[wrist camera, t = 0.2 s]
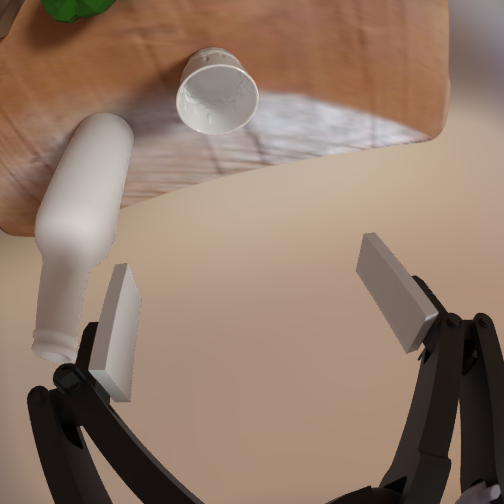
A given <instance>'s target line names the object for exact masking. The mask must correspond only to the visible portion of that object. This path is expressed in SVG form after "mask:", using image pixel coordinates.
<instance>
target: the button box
mask: <svg viewBox="0 0 504 504" xmlns="http://www.w3.org/2000/svg"><path fill="white" fill-rule="evenodd" d="M24 1H25V0H0V38H2V37H4V36H6V35H8V32H9V30H10V28H11V26H12V24H13V22H14V20H15V18H16V16H17V14H18V12H19V10H20V8H21V6H22V4H23V3H24Z"/></svg>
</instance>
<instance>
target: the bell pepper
mask: <svg viewBox="0 0 504 504" xmlns="http://www.w3.org/2000/svg"><path fill="white" fill-rule="evenodd" d="M40 1H41V3H42V4H43V6H44V8H45V10H46V12H47V13H48V14H49V15H50V16H51V17H52V18H53V19H54V20H55V21H56V22H64V23H72V22H74V21H76V20H78V19H79V18H80V17H83V18H86V19H87V18H89V17H92V16H95V15H97V14H100V13H103V12H105V11H106V10H107V9H108V8H109V7H110V6H111V5H112V4H113V3H114V2H115V1H116V0H40Z"/></svg>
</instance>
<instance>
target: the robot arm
mask: <svg viewBox="0 0 504 504" xmlns="http://www.w3.org/2000/svg"><path fill="white" fill-rule="evenodd" d="M356 272H357V274H358V275H359V276H360V278H361V280H362V281H363V283H364V284H365V286H366V288H367V289H368V291H369V292H370V294H371V295H372V297H373V299H374V300H375V302H376V303H377V305H378V306H379V308H380V310H381V311H382V313H383V315H384V316H385V318H386V320H387V321H388V323H389V324H390V326H391V328H392V330H393V331H394V333H395V335H396V337H397V338H398V340H399V342H400V344H401V345H402V347H403V349H404V350H405V352H406V354H407V353H409V352H412V351H415V350H418V349H419V347H420V345H421V343H422V342H423V344H424V345H425V348H424V350H423V351H422V353H421V354H420V356H419V358H418V360H420V359H421V357H422V360H421V365H420V370H419V375H418V379H417V383H416V387H415V391H414V395H413V399H412V403H411V407H410V410H409V414H408V417H407V421H406V424H405V427H404V430H403V434H402V437H401V440H400V443H399V446H398V449H397V451H396V455H395V457H394V460H393V462H392V465H391V467H390V468H389V470H388V471H387V473H386V474H385V475H384V477H383V479H382V481H381V483H380V485H379V487H378V488H371V486H367V487H365V488H362V489H360V490H357V491H354V492H351V493H348V494H345V495H343V496H341V497H338V498H336V499H333V500H332V501H329V502H328V503H326V504H440V501H441V498H442V495H443V492H444V489H445V486H446V483H447V480H448V476H449V473H450V469H451V460H450V459H449V458H448V451H449V447H450V443H451V438H452V433H453V429H454V424H455V419H456V413H457V406H458V400H459V403H460V419H461V468H460V483H461V493H462V495H461V496H460V498H459V499H458V500H457V501H456V503H455V504H504V360H503V356H502V352H501V348H500V344H499V341H498V337H497V334H496V330H495V327H494V324H493V321H492V319H491V318H490V317H489V316H488V315H486V314H484V313H477V314H476V315H475V317H474V318H473V320H462V319H461V318H460V317H459V316H458V315H456V314H454V313H448V312H447V311H446V310H445V308H444V307H443V305H442V304H441V303H440V301H439V300H438V299H437V298H436V296H435V295H434V294H433V293H432V291H431V290H430V289H429V288H428V286H427V285H426V284H425V282H424V281H423V280H422V279H420V278H419V277H417V276H411V275H410V274H409V273H408V272H407V270H406V269H405V268H404V267H403V266H402V264H401V263H400V262H399V261H398V260H397V258H396V257H395V256H394V254H393V253H392V252H391V251H390V250H389V249H388V247H387V246H386V245H385V244H384V243H383V242H382V241H381V239H380V238H379V237H378V236H377V235H376V234H375V233H367V234H364V235H363V240H362V245H361V249H360V254H359V259H358V263H357V268H356ZM141 301H142V300H141V298H140V295H139V292H138V290H137V287H136V284H135V281H134V278H133V276H132V273H131V270H130V267H129V264H128V263H124V264H116V265H115V267H114V270H113V273H112V277H111V280H110V283H109V286H108V290H107V293H106V297H105V300H104V304H103V308H102V312H101V315H100V319H99V322H90V323H89V324H88V325H87V326H86V328H85V329H84V331H83V335H82V339H81V343H80V348H79V350H78V354H77V358H76V363H75V364H72V363H64V364H62V365H60V366H59V367H58V368H57V369H56V371H55V372H54V375H53V382H54V385H55V386H56V387H57V388H56V389H53V390H49V391H48V390H47V389H46V388H45V387H44V386H36V387H34V388H33V389H31V391H30V392H29V394H28V397H27V404H28V411H29V416H30V421H31V426H32V430H33V435H34V439H35V443H36V447H37V450H38V454H39V458H40V462H41V465H42V468H43V471H44V475H45V478H46V480H47V484H48V486H49V489H50V492H51V495H52V497H53V500H54V502H55V504H113V503H112V501H111V499H110V497H109V495H108V493H107V491H106V489H105V487H104V485H103V483H102V481H101V479H100V476H99V474H98V472H97V470H96V467H95V465H94V463H93V460H92V458H91V455H90V453H89V450H88V448H87V445H86V442H85V440H84V437H83V434H82V432H81V429H80V426H82V425H83V427H84V428H85V430H86V432H87V433H88V435H89V436H90V437H91V439H92V440H93V442H94V443H95V445H96V446H97V448H98V449H99V450H100V452H101V453H102V454H103V456H104V457H105V458H106V460H107V461H108V462H109V464H110V465H111V466H112V468H113V469H114V470H115V471H116V473H117V474H118V475H119V476H120V477H121V479H122V480H123V481H124V482H125V483H126V485H127V486H128V487H129V488H130V489H131V490H132V491H133V493H134V494H135V495H136V496H137V497H138V498H139V499H140V500H141V501H142V502H143V503H144V504H204V503H203V502H202V501H201V500H200V499H198V498H197V497H196V496H195V495H194V494H193V493H191V492H190V491H189V490H188V489H187V488H186V487H185V486H184V485H183V484H181V483H180V482H179V481H178V480H177V479H176V478H175V477H174V476H173V475H172V474H171V473H170V472H169V471H168V470H166V468H164V466H163V465H162V464H161V463H160V462H159V461H158V460H157V459H156V458H155V457H154V456H153V455H152V454H151V453H150V452H149V451H148V450H147V448H146V447H145V446H144V445H143V444H142V443H141V442H140V441H139V440H138V438H137V437H136V436H135V435H134V434H133V433H132V431H131V430H130V429H129V428H128V426H127V425H126V424H125V423H124V422H123V420H122V419H121V418H120V417H119V415H118V414H117V413H116V412H115V410H114V409H113V408H112V407H111V405H110V404H109V403H110V397H111V398H112V399H113V400H114V401H115V402H130V399H131V384H132V373H133V362H134V353H135V344H136V336H137V328H138V321H139V314H140V307H141ZM476 353H477V354H476Z"/></svg>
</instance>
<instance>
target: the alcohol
mask: <svg viewBox="0 0 504 504" xmlns="http://www.w3.org/2000/svg"><path fill="white" fill-rule="evenodd" d="M133 145H134V135H133V131H132V129H131V127H130V126H129V124H128V123H127V122H126V121H125V120H124V119H122V118H121V117H119V116H117V115H115V114H111V113H97V114H94V115H91V116H89V117H87V118H86V119H85V120H83V121H82V122H81V124H80V125H79V127H78V128H77V130H76V132H75V134H74V135H73V137H72V139H71V141H70V143H69V145H68V146H67V148H66V150H65V152H64V154H63V156H62V158H61V160H60V162H59V164H58V166H57V168H56V170H55V173H54V175H53V177H52V179H51V181H50V183H49V186H48V188H47V190H46V193H45V195H44V197H43V200H42V202H41V205H40V207H39V210H38V212H37V215H36V221H35V240H36V243H37V246H38V248H39V250H40V252H41V254H42V259H43V265H42V271H41V278H40V285H39V294H38V303H37V314H36V329H35V330H34V331H33V338H34V344H33V345H32V350H33V352H34V353H35V354H36V355H37V356H38V357H40V358H42V359H45V360H48V361H51V362H56V363H72V362H74V361H75V360H76V358H77V353H76V348H77V347H78V340H77V334H78V327H79V321H80V315H81V310H82V304H83V299H84V294H85V289H86V285H87V280H88V276H89V273H90V271H91V270H92V268H94V267H95V266H97V265H98V264H100V263H101V262H102V260H104V259H105V257H107V255H108V253H109V251H110V249H111V246H112V244H113V242H114V239H115V234H116V228H117V221H118V215H119V210H120V204H121V199H122V194H123V189H124V184H125V179H126V175H127V170H128V166H129V161H130V157H131V153H132V149H133Z"/></svg>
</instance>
